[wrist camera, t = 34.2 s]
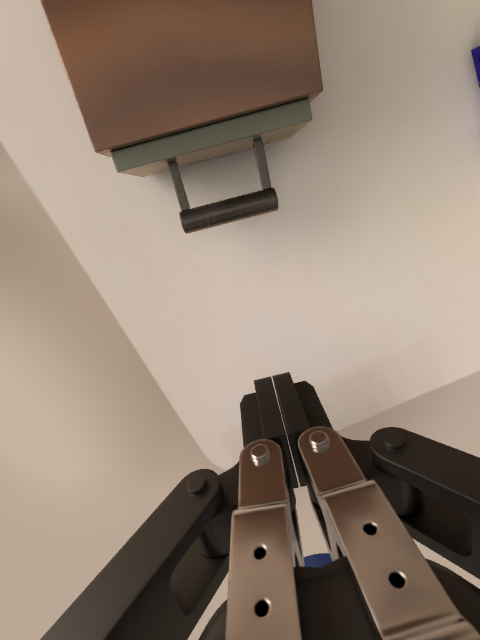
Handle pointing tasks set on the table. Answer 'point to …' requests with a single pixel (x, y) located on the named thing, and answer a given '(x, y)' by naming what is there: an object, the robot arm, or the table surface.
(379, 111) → the table surface
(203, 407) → the table surface
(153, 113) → the cabinet
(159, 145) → the drawer
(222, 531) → the robot arm
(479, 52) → the cable holder
